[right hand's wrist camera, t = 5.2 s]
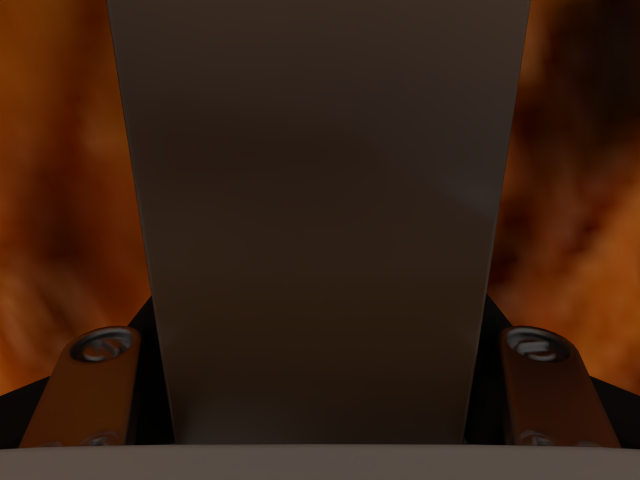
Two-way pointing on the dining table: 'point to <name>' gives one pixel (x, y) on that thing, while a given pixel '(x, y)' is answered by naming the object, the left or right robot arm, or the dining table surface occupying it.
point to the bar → (318, 208)
